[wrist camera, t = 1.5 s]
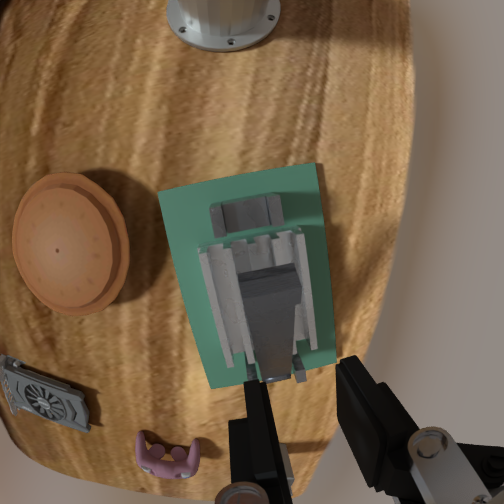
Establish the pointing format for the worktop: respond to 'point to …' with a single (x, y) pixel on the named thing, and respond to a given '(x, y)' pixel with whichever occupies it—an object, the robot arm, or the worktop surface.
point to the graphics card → (43, 395)
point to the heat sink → (249, 259)
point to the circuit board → (201, 231)
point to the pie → (71, 244)
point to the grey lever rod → (272, 317)
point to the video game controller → (167, 469)
